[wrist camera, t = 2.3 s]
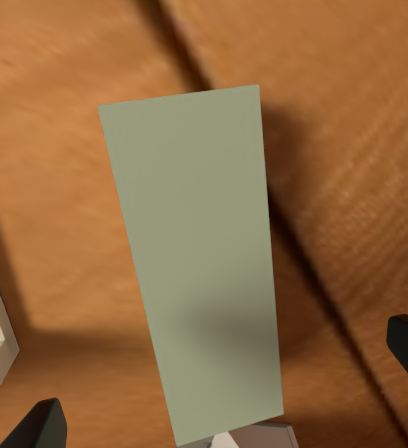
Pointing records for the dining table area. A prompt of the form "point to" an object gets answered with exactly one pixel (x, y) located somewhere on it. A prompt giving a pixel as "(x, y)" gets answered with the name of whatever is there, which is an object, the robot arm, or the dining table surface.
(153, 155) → the shelf board
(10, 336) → the tray
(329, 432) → the dining table surface
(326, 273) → the dining table surface
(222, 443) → the skyscraper
